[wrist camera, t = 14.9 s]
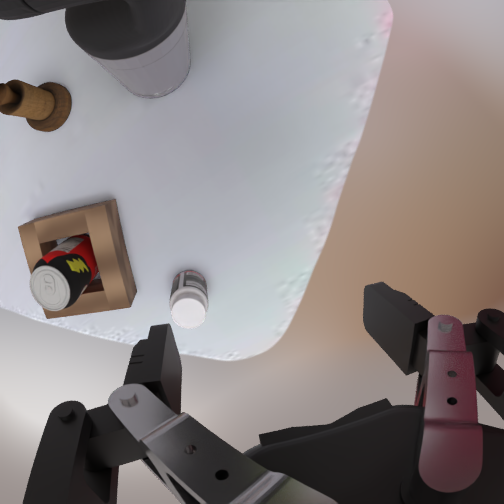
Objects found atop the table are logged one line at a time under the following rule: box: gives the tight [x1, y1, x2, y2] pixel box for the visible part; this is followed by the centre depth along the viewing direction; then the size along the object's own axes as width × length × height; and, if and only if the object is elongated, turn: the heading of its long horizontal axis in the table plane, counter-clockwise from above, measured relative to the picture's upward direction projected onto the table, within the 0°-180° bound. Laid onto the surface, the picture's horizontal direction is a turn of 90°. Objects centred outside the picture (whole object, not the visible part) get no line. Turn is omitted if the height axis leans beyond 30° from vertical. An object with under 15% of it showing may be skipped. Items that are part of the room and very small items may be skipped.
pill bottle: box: [170, 271, 208, 329], centre depth 39 cm, size 5×5×8 cm
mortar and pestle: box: [0, 80, 71, 132], centre depth 24 cm, size 7×6×18 cm
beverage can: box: [30, 235, 99, 311], centre depth 34 cm, size 6×6×12 cm
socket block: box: [18, 199, 137, 319], centre depth 37 cm, size 13×13×5 cm
